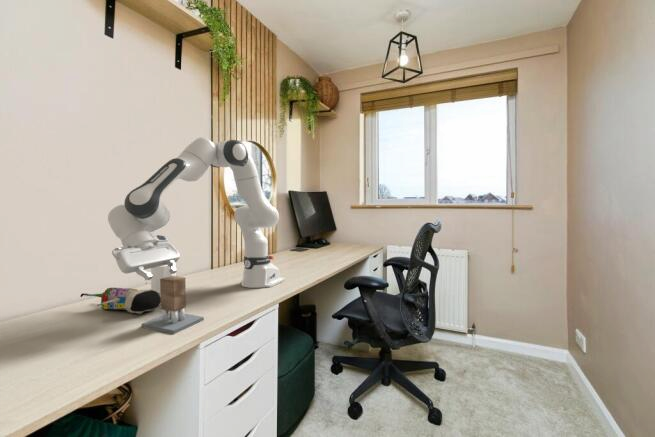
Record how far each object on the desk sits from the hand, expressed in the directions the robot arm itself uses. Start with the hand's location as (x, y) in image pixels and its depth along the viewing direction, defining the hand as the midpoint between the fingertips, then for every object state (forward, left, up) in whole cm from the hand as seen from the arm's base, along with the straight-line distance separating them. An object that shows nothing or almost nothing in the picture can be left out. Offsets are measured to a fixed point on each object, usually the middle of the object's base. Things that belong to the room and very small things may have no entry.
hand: (162, 275), depth 100 cm
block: (-1, +4, -10) cm, 11 cm away
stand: (-1, +5, -15) cm, 16 cm away
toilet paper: (-21, -35, -16) cm, 44 cm away
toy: (+1, -24, -16) cm, 29 cm away
